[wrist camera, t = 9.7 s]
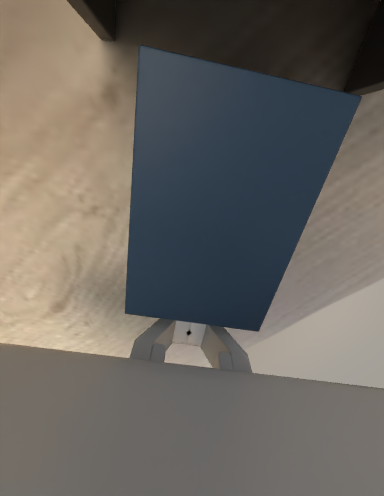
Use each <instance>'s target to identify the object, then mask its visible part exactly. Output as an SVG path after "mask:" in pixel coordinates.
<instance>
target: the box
mask: <svg viewBox="0 0 384 496" xmlns="http://www.w3.org/2000/svg"><path fill="white" fill-rule="evenodd" d="M361 98H362V97H361V96H359V95H355V94H350V93H346V92H342V91H337V90H333V89H329V88H325V87H320V86H316V85H312V84H307V83H303V82H299V81H295V80H290V79H286V78H282V77H277V76H273V75H269V74H264V73H260V72H256V71H252V70H247V69H243V68H239V67H234V66H230V65H226V64H222V63H217V62H213V61H209V60H204V59H200V58H196V57H192V56H187V55H183V54H179V53H174V52H170V51H166V50H162V49H157V48H153V47H149V46H144V45H140V46H139V54H138V73H137V91H136V110H135V129H134V148H133V167H132V186H131V205H130V224H129V242H128V261H127V280H126V299H125V314H131V315H139V316H146V317H154V318H161V319H169V320H176V321H183V322H191V323H198V324H206V325H213V326H221V327H228V328H235V329H243V330H250V331H259V330H260V327H261V325H262V323H263V320H264V318H265V316H266V314H267V311H268V309H269V307H270V305H271V302H272V300H273V298H274V296H275V293H276V291H277V289H278V286H279V284H280V282H281V280H282V277H283V275H284V273H285V271H286V268H287V266H288V264H289V262H290V259H291V257H292V255H293V252H294V250H295V248H296V246H297V243H298V241H299V239H300V237H301V234H302V232H303V230H304V228H305V225H306V223H307V221H308V218H309V216H310V214H311V212H312V209H313V207H314V205H315V203H316V200H317V198H318V196H319V193H320V191H321V189H322V187H323V184H324V182H325V180H326V178H327V175H328V173H329V171H330V169H331V166H332V164H333V162H334V159H335V157H336V155H337V153H338V150H339V148H340V146H341V144H342V141H343V139H344V137H345V135H346V132H347V130H348V128H349V125H350V123H351V121H352V119H353V116H354V114H355V112H356V110H357V107H358V105H359V103H360V101H361Z"/></svg>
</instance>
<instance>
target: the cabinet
mask: <svg viewBox="0 0 384 496" xmlns="http://www.w3.org/2000/svg"><path fill="white" fill-rule="evenodd" d="M67 1H68V2H69V4H70V5H71V6H72V7H73V8H74V9H75V10H76V11H77V13H78V14H79V15H80V16H81V17H82V18H83V19H84V21H85V22H86V23H87V24H88V25H89V26H90V27H91V29H92V30H93V31H94V32H95V33H96V34H97V35H98V37H99V38H101V39H104V40H108V41H115V0H67ZM382 89H384V0H381V1H380V3H379V6H378V8H377V11H376V13H375V16H374V18H373V20H372V23H371V25H370V28H369V30H368V33H367V35H366V38H365V40H364V43H363V45H362V48H361V50H360V53H359V55H358V57H357V60H356V62H355V65H354V67H353V70H352V72H351V75H350V77H349V80H348V82H347V85H346V87H345V90H344V92H346V93H350V94H355V95H359V96H361V95H365V94H368V93H372V92H375V91H379V90H382Z"/></svg>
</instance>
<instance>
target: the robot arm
mask: <svg viewBox="0 0 384 496" xmlns="http://www.w3.org/2000/svg"><path fill="white" fill-rule="evenodd" d="M172 343H181V344H189V345H196V346H201V349H202V350H203V352H204V354H205V355H206V357H207V359H208V361H209V362H210V364H211V366H212V367H213V368H207V367H199V366H190V365H182V364H173V363H165V362H164V359H165V351H166V350H167V349H168V348H169V346H170V345H171V344H172ZM0 496H384V389H383V388H374V387H366V386H357V385H349V384H340V383H332V382H324V381H316V380H307V379H299V378H291V377H282V376H274V375H265V374H257V373H252V370H251V366H250V362H249V358H248V355H247V353H246V352H245V351H244V350H243V349H242V348H241V347H240V345H239V344H238V343H237V342H236V341H235V340H234V339H233V338H232V337H231V335H230V334H229V333H228V332H227V331H226V330H225V329H224V328H223V327H221V326H213V325H206V324H198V323H191V322H183V321H176V320H169V319H161V318H160V319H159V320H158V321H157V322H155V323H154V324H153V325H152V326H151V327H150V328H148V329H147V330H146V331H145V332H144V333H143V334H141V335H140V336H139V337H138V338H137V339H136V340H135V342H134V345H133V348H132V352H131V355H130V358H123V357H115V356H106V355H98V354H89V353H81V352H73V351H64V350H56V349H48V348H39V347H31V346H23V345H14V344H6V343H0Z"/></svg>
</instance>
